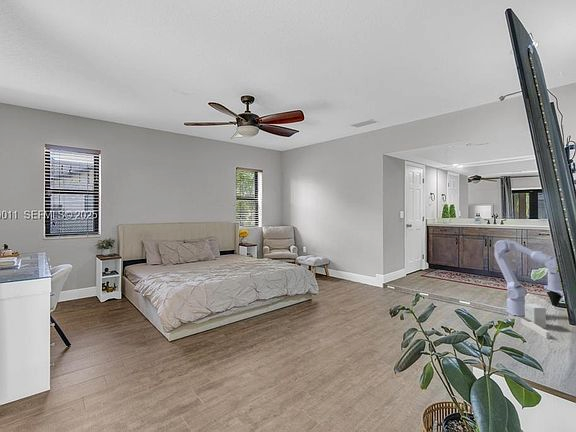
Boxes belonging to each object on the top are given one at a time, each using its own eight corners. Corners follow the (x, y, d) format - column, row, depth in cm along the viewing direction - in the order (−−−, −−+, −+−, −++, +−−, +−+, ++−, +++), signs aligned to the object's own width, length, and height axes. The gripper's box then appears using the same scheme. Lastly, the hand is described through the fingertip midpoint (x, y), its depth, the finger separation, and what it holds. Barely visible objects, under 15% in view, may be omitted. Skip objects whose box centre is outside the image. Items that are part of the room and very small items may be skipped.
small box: (546, 328, 156) (546, 308, 156) (534, 328, 157) (534, 307, 157) (536, 322, 164) (535, 303, 164) (524, 322, 165) (524, 303, 165)
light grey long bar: (520, 322, 165) (519, 316, 165) (523, 322, 165) (522, 316, 165) (546, 338, 144) (546, 331, 144) (550, 338, 144) (549, 331, 144)
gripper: (573, 284, 155) (573, 310, 155) (553, 277, 169) (554, 301, 169) (557, 283, 156) (558, 309, 156) (539, 277, 170) (540, 301, 170)
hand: (555, 305), depth 163 cm, fingers closed
